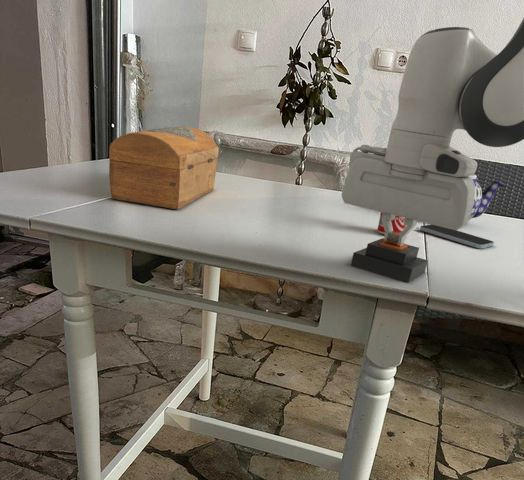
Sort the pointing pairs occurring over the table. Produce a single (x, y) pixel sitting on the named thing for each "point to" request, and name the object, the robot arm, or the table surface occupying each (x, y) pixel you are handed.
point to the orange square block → (394, 246)
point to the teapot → (483, 197)
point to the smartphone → (457, 236)
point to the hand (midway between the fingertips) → (393, 243)
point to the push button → (390, 261)
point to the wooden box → (163, 166)
